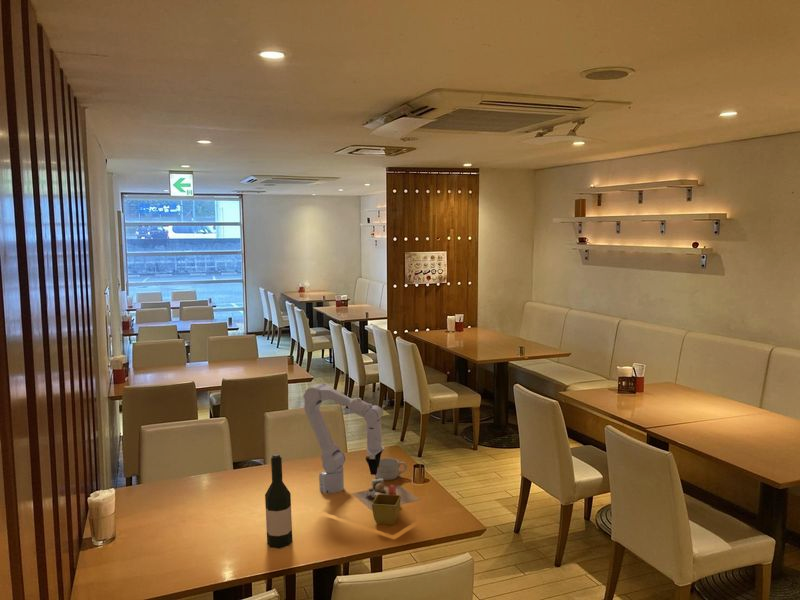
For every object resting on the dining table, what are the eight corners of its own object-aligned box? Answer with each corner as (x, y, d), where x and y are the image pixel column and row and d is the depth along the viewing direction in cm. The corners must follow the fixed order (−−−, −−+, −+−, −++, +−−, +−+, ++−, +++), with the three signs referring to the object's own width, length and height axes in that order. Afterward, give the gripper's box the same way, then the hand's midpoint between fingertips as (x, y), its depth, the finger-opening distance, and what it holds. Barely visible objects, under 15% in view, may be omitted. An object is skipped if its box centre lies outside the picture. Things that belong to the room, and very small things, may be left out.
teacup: (370, 483, 252) (369, 464, 252) (378, 473, 263) (378, 455, 262) (402, 485, 248) (401, 466, 248) (409, 476, 259) (409, 458, 258)
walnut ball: (377, 494, 237) (377, 485, 236) (373, 491, 240) (373, 482, 240) (386, 492, 238) (385, 484, 238) (382, 489, 242) (381, 481, 241)
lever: (364, 496, 234) (364, 481, 234) (369, 493, 237) (369, 478, 237) (393, 503, 227) (392, 488, 227) (398, 499, 230) (397, 485, 230)
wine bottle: (281, 534, 208) (277, 449, 205) (297, 541, 202) (294, 453, 200) (261, 543, 201) (257, 455, 199) (278, 551, 196) (274, 460, 194)
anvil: (373, 491, 240) (372, 481, 240) (371, 489, 242) (371, 479, 242) (383, 489, 242) (383, 479, 241) (382, 487, 244) (382, 478, 243)
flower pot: (396, 530, 208) (395, 505, 208) (372, 528, 210) (371, 503, 210) (401, 519, 217) (401, 495, 216) (378, 517, 219) (377, 493, 218)
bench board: (372, 514, 222) (372, 510, 222) (352, 496, 239) (351, 493, 239) (419, 502, 231) (419, 499, 231) (397, 486, 248) (396, 482, 248)
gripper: (382, 442, 229) (383, 477, 230) (386, 431, 244) (386, 464, 245) (363, 442, 230) (364, 477, 231) (368, 431, 244) (369, 464, 245)
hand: (374, 470), depth 238 cm, fingers open, 7 cm apart
